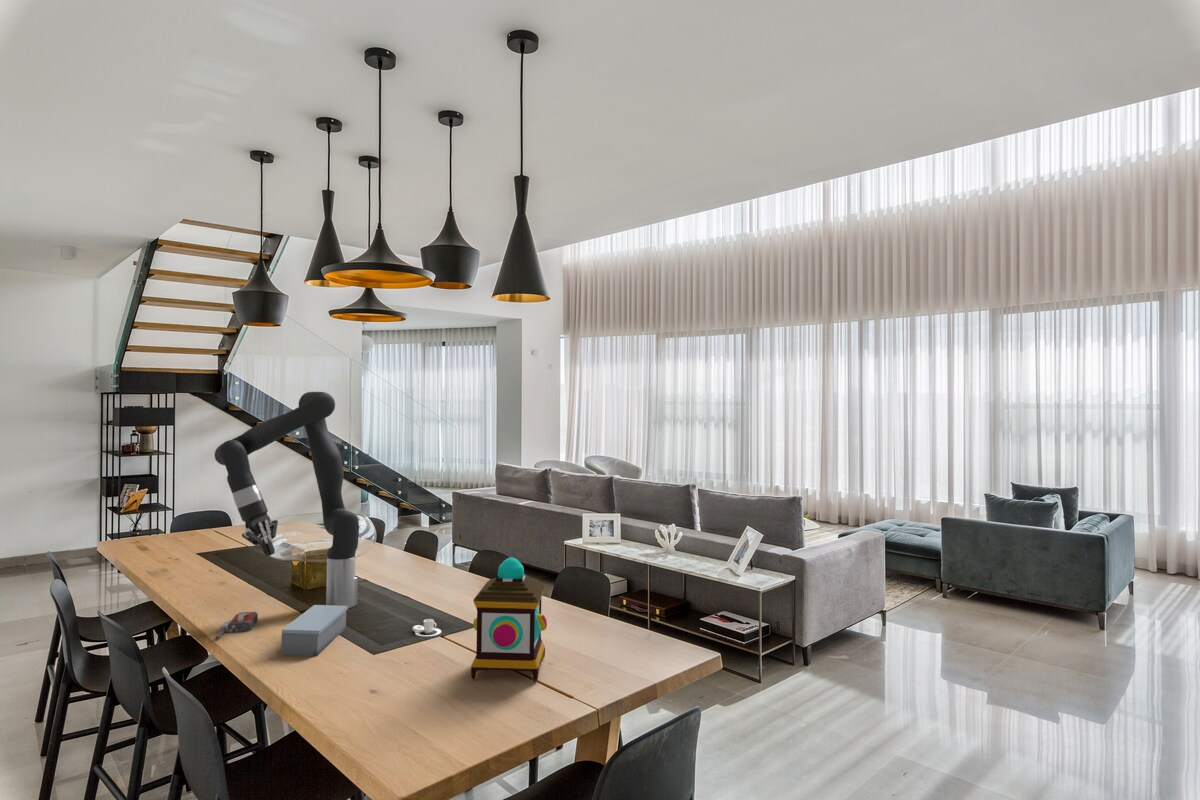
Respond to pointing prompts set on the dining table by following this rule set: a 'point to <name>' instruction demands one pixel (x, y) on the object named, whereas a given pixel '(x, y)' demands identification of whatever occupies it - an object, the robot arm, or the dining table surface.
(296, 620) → the duct lid
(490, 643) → the decorative lantern
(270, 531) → the robot arm
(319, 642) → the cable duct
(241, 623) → the walkie-talkie
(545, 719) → the dining table surface
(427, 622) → the teacup and saucer
